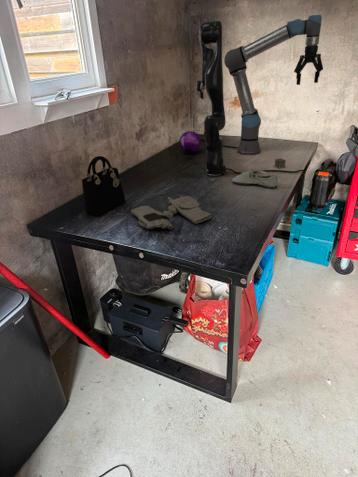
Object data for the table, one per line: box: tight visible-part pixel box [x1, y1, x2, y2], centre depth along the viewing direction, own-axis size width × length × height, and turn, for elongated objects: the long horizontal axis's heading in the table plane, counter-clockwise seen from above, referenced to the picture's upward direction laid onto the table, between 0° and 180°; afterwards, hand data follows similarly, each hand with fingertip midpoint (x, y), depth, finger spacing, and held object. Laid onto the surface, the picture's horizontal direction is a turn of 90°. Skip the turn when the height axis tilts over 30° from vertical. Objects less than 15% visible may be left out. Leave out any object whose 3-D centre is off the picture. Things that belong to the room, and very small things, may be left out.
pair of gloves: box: [130, 195, 212, 230], centre depth 145 cm, size 30×26×5 cm
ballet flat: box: [231, 169, 279, 189], centre depth 173 cm, size 8×24×8 cm, turn 61°
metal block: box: [274, 158, 287, 169], centre depth 197 cm, size 4×4×4 cm
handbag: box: [81, 155, 126, 217], centre depth 153 cm, size 21×9×25 cm, turn 148°
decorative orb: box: [178, 130, 202, 154], centre depth 230 cm, size 15×15×15 cm
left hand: (208, 98), depth 203 cm, fingers open, 8 cm apart
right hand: (307, 83), depth 211 cm, fingers open, 13 cm apart
